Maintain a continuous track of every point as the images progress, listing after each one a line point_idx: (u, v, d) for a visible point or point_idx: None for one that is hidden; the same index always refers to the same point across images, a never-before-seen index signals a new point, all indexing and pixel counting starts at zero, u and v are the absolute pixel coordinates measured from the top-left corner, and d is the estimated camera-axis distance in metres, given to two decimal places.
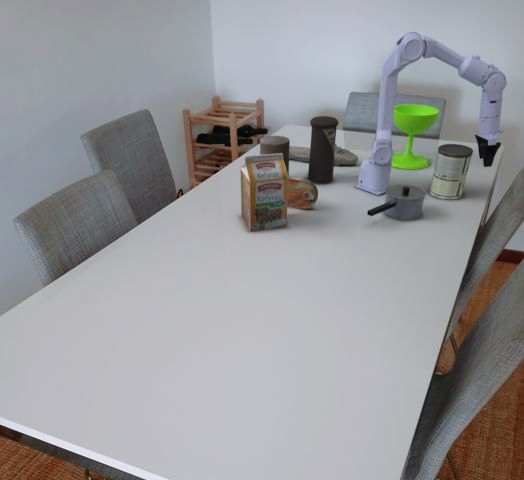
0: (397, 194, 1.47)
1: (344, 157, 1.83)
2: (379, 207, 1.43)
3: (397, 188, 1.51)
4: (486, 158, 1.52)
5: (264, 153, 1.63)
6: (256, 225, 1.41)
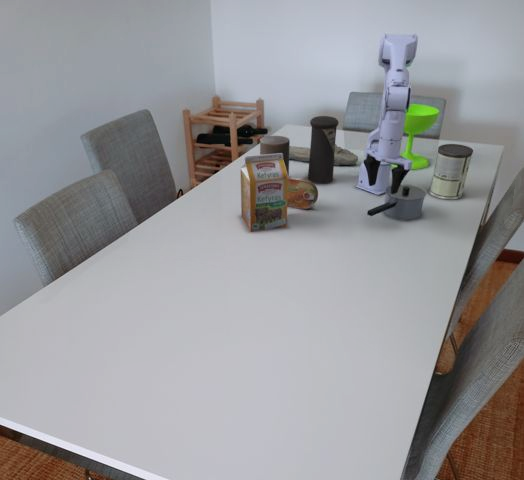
0: (397, 194, 1.47)
1: (344, 157, 1.83)
2: (379, 207, 1.43)
3: None
4: None
5: (264, 153, 1.63)
6: (256, 225, 1.41)
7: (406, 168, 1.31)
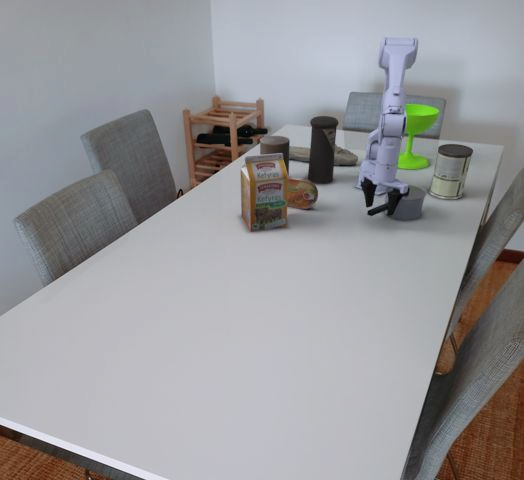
0: None
1: (344, 157, 1.83)
2: (379, 207, 1.43)
3: None
4: None
5: (264, 153, 1.63)
6: (256, 225, 1.41)
7: (402, 192, 1.35)
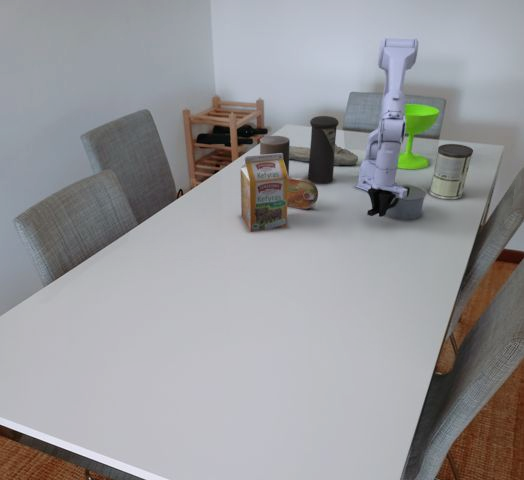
0: None
1: (344, 157, 1.83)
2: (379, 207, 1.43)
3: None
4: None
5: (264, 153, 1.63)
6: (256, 225, 1.41)
7: (401, 196, 1.36)
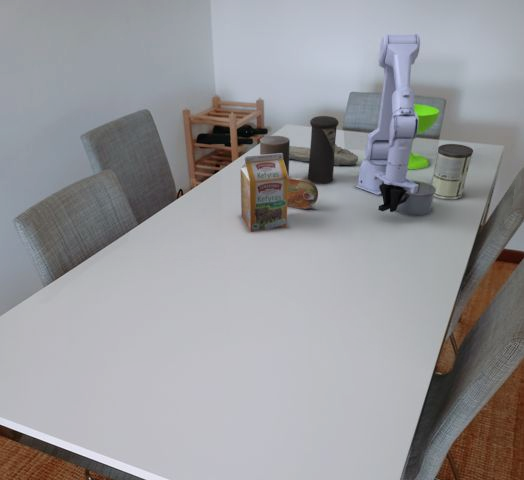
0: None
1: (344, 157, 1.83)
2: (390, 202, 1.46)
3: None
4: None
5: (264, 153, 1.63)
6: (256, 225, 1.41)
7: (412, 191, 1.38)
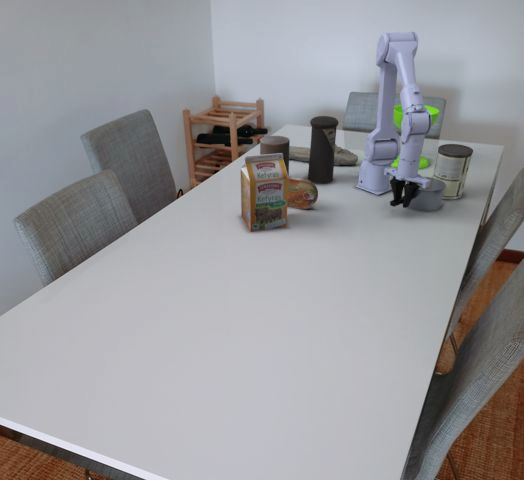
0: None
1: (344, 157, 1.83)
2: (401, 198, 1.49)
3: None
4: None
5: (264, 153, 1.63)
6: (256, 225, 1.41)
7: (424, 187, 1.41)
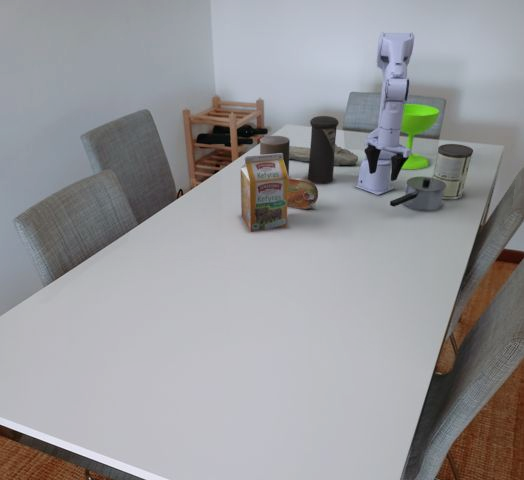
0: (418, 186, 1.52)
1: (344, 157, 1.83)
2: (401, 198, 1.49)
3: (417, 180, 1.56)
4: None
5: (264, 153, 1.63)
6: (256, 225, 1.41)
7: (405, 156, 1.39)
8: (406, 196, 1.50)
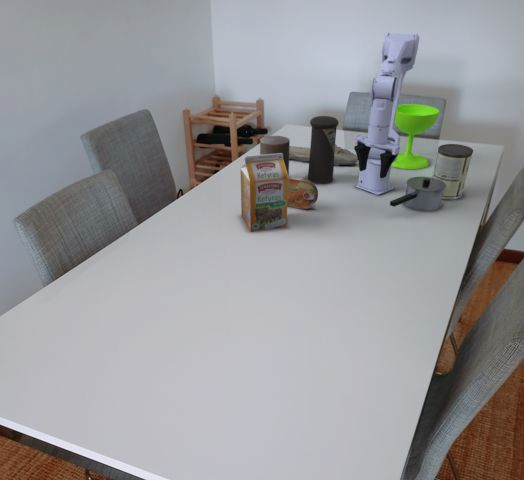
0: (418, 186, 1.52)
1: (344, 157, 1.83)
2: (401, 198, 1.49)
3: (417, 180, 1.56)
4: None
5: (264, 153, 1.63)
6: (256, 225, 1.41)
7: (394, 153, 1.39)
8: (406, 196, 1.50)
